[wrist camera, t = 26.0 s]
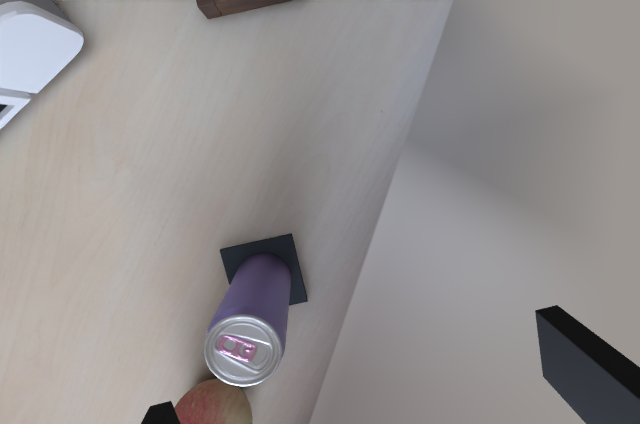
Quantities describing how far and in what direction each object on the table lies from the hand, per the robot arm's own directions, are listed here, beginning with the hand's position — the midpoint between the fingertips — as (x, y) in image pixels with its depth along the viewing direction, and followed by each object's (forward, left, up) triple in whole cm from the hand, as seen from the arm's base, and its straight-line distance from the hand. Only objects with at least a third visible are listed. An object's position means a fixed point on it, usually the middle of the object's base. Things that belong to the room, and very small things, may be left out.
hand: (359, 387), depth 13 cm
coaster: (+8, +5, -29) cm, 30 cm away
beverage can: (+8, +5, -28) cm, 30 cm away
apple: (+17, +19, -29) cm, 38 cm away
